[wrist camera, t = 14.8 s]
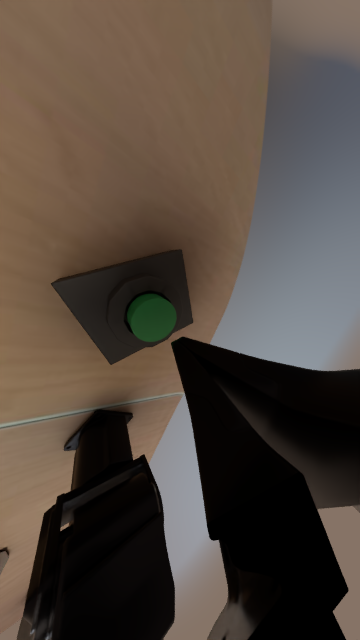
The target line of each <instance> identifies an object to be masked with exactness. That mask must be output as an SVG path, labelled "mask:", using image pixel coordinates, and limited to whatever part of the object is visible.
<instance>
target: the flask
mask: <svg viewBox="0 0 360 640" xmlns="http://www.w3.org/2000/svg"><path fill="white" fill-rule="evenodd" d="M8 558H9V557H8V555H7V553H6V551H4V552H1V553H0V574H1V572H2V570H3V568H4V566H5V564H6V562H7V560H8Z"/></svg>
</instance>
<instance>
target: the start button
mask: <svg viewBox="0 0 360 640" xmlns="http://www.w3.org/2000/svg"><path fill="white" fill-rule="evenodd" d="M127 319H128V322H129V325H130V327H131V329H132V331H133V333H134V334H135V336H136V337H137V338H139V339H140V340H143V341H146V342H155V341H158V340H161V339H163V338H165V337H166V336H167V335H168V334H169V333H170V332H171V331H172V330H173V328H174V326H175V323H176V311H175V308H174V307H173V305H172V304H171V303H170V302H169V301H167V300H165V299H164V298H162V297H161V296H159V295H157V294H144V295H141V296H139V297H137V298H136V299H135V300H134V301H133V302H132V303H131V304H130V306H129V308H128V312H127Z"/></svg>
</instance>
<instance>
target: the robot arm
mask: <svg viewBox="0 0 360 640" xmlns="http://www.w3.org/2000/svg"><path fill="white" fill-rule="evenodd" d="M171 345H172V349H173V353H174V356H175V360H176V363H177V367H178V371H179V374H180V378H181V381H182V385H183V389H184V392H185V396H186V400H187V404H188V408H189V412H190V416H191V422H192V427H193V433H194V439H195V446H196V453H197V459H198V466H199V472H200V479H201V485H202V492H203V500H204V506H205V513H206V521H207V528H208V532H209V537H210V539H211V540H213V541H214V540H219V543H220V548H221V553H222V558H223V563H224V568H225V574H226V578H227V584H228V599H227V603H226V605H225V607H224V609H223V611H222V612H221V614H220V616H219V617H218V619H217V621H216V622H215V624H214V626H213V628H212V630H211V632H210V634H209V636H208V638H207V640H346V639H345V636H344V634H343V633H342V630H341V629H340V626H339V624H338V622H337V620H336V618H335V616H334V614H333V610H334V609H335V608H336V606H337V605H338V604H339V603H340V601H341V600H342V599H343V597H344V596H345V595H346V593H347V592H348V587H347V584H346V582H345V579H344V577H343V575H342V572H341V569H340V567H339V564H338V562H337V559H336V557H335V554H334V551H333V549H332V547H331V544H330V541H329V539H328V536H327V533H326V531H325V528H324V526H323V523H322V521H321V518H320V516H319V513H318V511H317V509H321V508H333V507H345V506H353V507H354V508H355V509H356V510H358V511H359V512H360V369H354V370H341V371H318V370H311V369H305V368H301V367H296V366H291V365H286V364H282V363H277V362H272V361H267V360H264V359H259V358H256V357H252V356H248V355H245V354H241V353H240V354H239V353H237V352H234V351H231V350H227V349H224V348H221V347H217V346H213V345H210V344H207V343H203V342H200V341H197V340H193V339H190V338H186V337H181V338H179V339H177V340H175V341H173V342H172V343H171ZM132 418H133V414H132V413H125V412H116V411H107V410H97V411H95V412H94V413H93V414H92V415H91V416H90V418H89V419H88V420H87V421H86V422H85V423H84V424H83V425H82V426H81V428H80V429H79V430H78V431H77V432H76V433H75V434H74V435H73V436H72V437H71V439H70V440H69V441H68V442H67V443H66V444H65V445H64V451H70V450H76V452H75V457H74V466H73V475H72V484H71V491H70V492H68V493H66V494H65V493H63V494H61V495H59V496H57V500H56V504H55V505H53V506H52V507H51V508H50V509H49V510H48V511H46V512H45V513H44V517H43V521H42V526H41V531H40V536H39V541H38V546H37V550H36V555H35V560H34V565H33V570H32V574H31V579H30V584H29V589H28V594H27V599H26V603H25V608H24V613H23V618H24V619H25V620H26V621H28V622H29V623H30V624H31V630H30V636H31V635H32V634H33V640H163V638H164V637H165V635H166V634H167V632H168V630H169V629H170V628H171V626H172V624H173V623H174V617H175V587H174V581H173V576H172V572H171V567H170V563H169V558H168V552H167V547H166V540H165V533H164V513H163V504H162V499H161V495H160V492H159V489H158V486H157V484H156V481H155V479H154V476H153V474H152V472H151V469H150V467H149V464H148V462H147V459H146V457H145V455H144V454H143V455H141V456H140V457H139V458H137V459H135V460H133V457H132V451H131V445H130V440H129V434H128V428H127V424H128V422H129V421H130V420H131V419H132ZM67 523H69V527H67V528H65V529H64V530H62V531H60V528H61V527H62V526H64V525H65V524H67Z"/></svg>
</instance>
